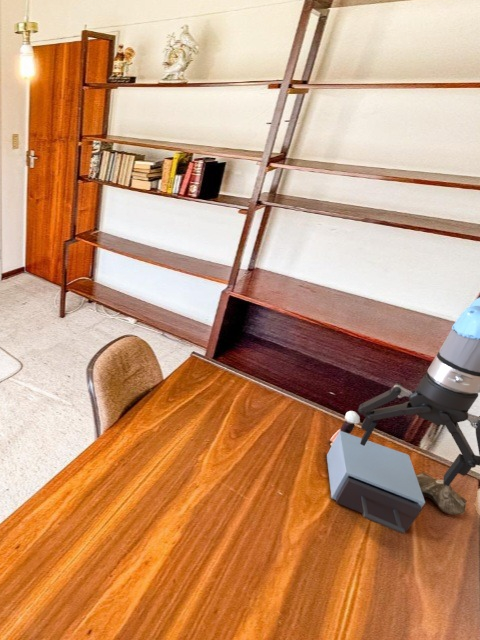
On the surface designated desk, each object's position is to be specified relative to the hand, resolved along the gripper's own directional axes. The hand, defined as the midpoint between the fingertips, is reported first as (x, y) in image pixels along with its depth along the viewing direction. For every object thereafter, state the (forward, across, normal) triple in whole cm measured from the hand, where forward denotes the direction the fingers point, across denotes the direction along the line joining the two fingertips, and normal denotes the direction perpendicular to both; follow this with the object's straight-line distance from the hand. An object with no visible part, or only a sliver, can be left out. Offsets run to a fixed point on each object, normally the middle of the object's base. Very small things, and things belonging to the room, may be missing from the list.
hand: (402, 460), depth 85 cm
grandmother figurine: (+21, -9, +24) cm, 33 cm away
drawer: (+20, 0, +6) cm, 21 cm away
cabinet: (+21, -1, +12) cm, 24 cm away
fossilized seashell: (+21, +12, +21) cm, 32 cm away
